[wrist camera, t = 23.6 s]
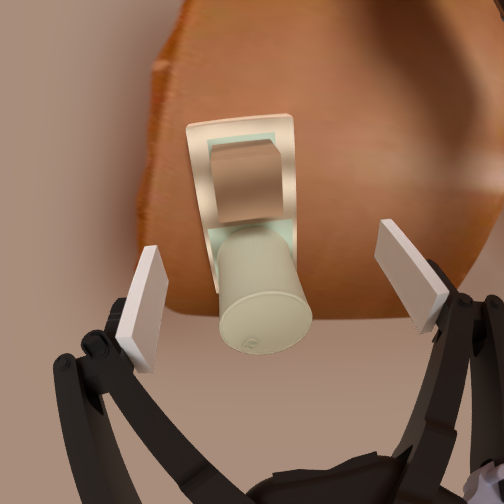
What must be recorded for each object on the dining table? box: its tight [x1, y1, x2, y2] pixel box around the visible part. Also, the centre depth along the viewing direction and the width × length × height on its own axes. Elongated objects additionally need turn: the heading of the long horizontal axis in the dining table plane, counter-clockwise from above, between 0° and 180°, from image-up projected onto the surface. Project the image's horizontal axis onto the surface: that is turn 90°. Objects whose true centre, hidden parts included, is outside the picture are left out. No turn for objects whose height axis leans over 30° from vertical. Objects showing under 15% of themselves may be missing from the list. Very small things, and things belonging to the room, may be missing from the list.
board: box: [186, 113, 297, 293], centre depth 35 cm, size 22×11×3 cm, turn 5°
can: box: [217, 227, 312, 355], centre depth 33 cm, size 9×9×12 cm
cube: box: [210, 139, 284, 223], centre depth 28 cm, size 6×6×6 cm
